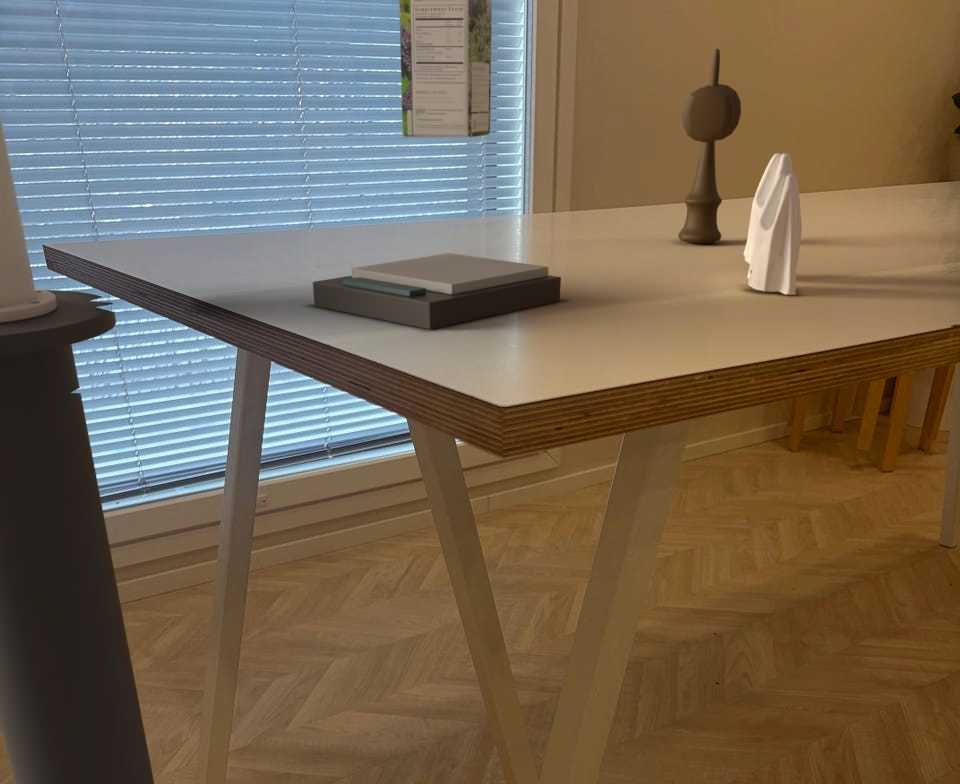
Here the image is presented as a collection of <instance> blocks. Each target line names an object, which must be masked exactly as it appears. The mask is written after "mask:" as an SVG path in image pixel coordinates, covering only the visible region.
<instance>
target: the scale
mask: <svg viewBox="0 0 960 784" xmlns="http://www.w3.org/2000/svg"><path fill="white" fill-rule="evenodd" d="M561 284H562V277H561V276H556V275H549V266H546V265H538V264H531V263H524V262H516V261H510V260H509V261H508V260H501V259H496V258H495V259H493V258H487V257H480V256H479V257H478V256H472V255H465V254H457V253H450V252H448V253H441V254H436V255H428V256H422V257H416V258H409V259H403V260H396V261H389V262H383V263H378V264H370V265H364V266H357V267H351V275H347V276H346V275H345V276H341V277H334V278H328V279H322V280H315V281H312V291H313V292H312V293H313V304H314V307H317V308H322V309H326V310H332V311H336V312H342V313H346V314H352V315H356V316H360V317H361V316H362V317H365V318H370V319H371V318H372V319H376V320H380V321H386V322H391V323H397V324H401V325H406V326H411V327H416V328H421V329H426V330H435V329H438V328H443V327H448V326H452V325H457V324H462V323H466V322H469V321H474V320H475V321H476V320H480V319H483V318H488V317H494V316H497V315H502V314H506V313H507V314H508V313H511V312H516V311H520V310H524V309H529V308H534V307H539V306H545V305H547V304H553V303H557V302H560V301H561V287H562V286H561Z"/></svg>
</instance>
